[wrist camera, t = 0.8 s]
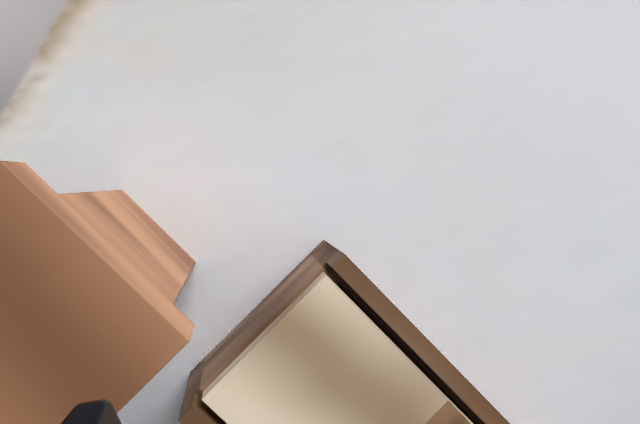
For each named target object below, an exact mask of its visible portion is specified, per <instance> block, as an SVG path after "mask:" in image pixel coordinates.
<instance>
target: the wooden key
mask: <svg viewBox="0 0 640 424" xmlns="http://www.w3.org/2000/svg"><path fill="white" fill-rule="evenodd" d="M194 264H195V261H194V260H193V259H192V258H191V257H190V256H189V255H188V254H187V253H186V252H185V251H184V250H183V249H182V248H181V247H180V246H179V245H178V244H177V243H176V242H175V241H174V240H173V239H172V238H171V237H170V236H169V235H168V234H167V233H166V232H165V231H164V230H163V229H161V228H160V227H159V226H158V225H157V224H156V223H155V222H154V221H153V220H152V219H151V218H150V217H149V216H148V215H147V214H146V213H145V212H144V211H143V210H142V209H141V208H140V207H139V206H138V205H137V204H136V203H135V202H134V201H133V200H132V199H131V198H130V197H129V196H128V195H127V194H126V193H125V192H124V191H123V190H113V191H98V192H83V193H68V194H57V193H56V192H55V191H54V190H53V189H52V188H51V187H50V186H49V185H48V184H47V183H45V182H44V181H43V180H42V179H41V178H40V177H39V176H38V175H37V174H36V173H35V172H34V171H33V170H32V169H31V168H30V167H29V166H28V165H27V164H26V163H20V162H9V161H0V424H61V422H62V421H63V420H64V419H65V418H66V416H67V415H68V414H69V413H70V411H71V410H72V409H73V408H74V407H75V406H76V405H78V404H80V403H83V402H88V401H94V400H100V399H107V400H109V401H110V402H111V403H112V405H113V407H114V409H115V411H116V413H117V412H118V411H119V410H120V409H121V408H122V407H123V406H124V405H125V404H126V403H127V402H128V401H129V400H130V399H131V398H133V397H134V396H135V395H136V394H137V393H138V392H139V391H140V390H141V389H142V388H143V387H144V386H145V385H146V384H147V383H148V382H149V381H150V380H151V379H152V378H153V377H154V376H155V375H156V374H157V373H158V372H159V371H160V370H161V369H162V368H163V367H164V366H165V365H166V364H167V363H168V362H169V361H170V360H171V359H172V358H173V357H174V356H175V355H176V354H177V353H178V352H179V351H180V350H181V349H182V348H183V347H184V346H185V345H186V344H187V343H188V342H189V341H190V337H191V334H192V331H193V328H194V324H193V323H192V322H191V321H190V320H189V319H188V318H187V317H186V316H184V315H183V314H182V313H181V312H180V311H179V310H178V309H177V308H176V307H175V306H174V305H173V304H174V302H175V300H176V298H177V296H178V294H179V292H180V290H181V289H182V287H183V285H184V283H185V281H186V279H187V277H188V276H189V274H190V272H191V270H192V268H193V266H194Z"/></svg>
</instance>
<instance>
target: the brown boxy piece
mask: <svg viewBox="0 0 640 424" xmlns="http://www.w3.org/2000/svg"><path fill="white" fill-rule="evenodd" d="M322 272H324V273H325V274H326V275H327V276H328V277H329V278H330V279H331V280H332V281H333V282H334V283H335V284H336V285H337V286H338V287H339V288H340V289H341V290H342V291H343V292H344V293H345V294H346V295H347V296H348V297H349V298H350V299H351V300H352V301H353V302H354V303H355V304H356V305H357V306H358V307H359V308H360V309H361V310H362V311H363V312H364V313H365V314H366V315H367V316H368V317H369V318H370V319H371V320H372V321H373V323H374V324H375V325H376V326H377V327H378V328H379V329H380V330H381V331H382V332H383V333H384V334H385V335H386V336H387V337H388V338H389V339H390V340H391V341H392V342H393V343H394V344H395V345H396V346H397V347H398V348H399V349H400V350H401V351H402V352H403V353H404V354H405V355H406V356H407V357H408V358H409V359H410V360H411V361H412V362H413V363H414V364H415V365H416V366H417V367H418V368H419V369H420V370H421V371H422V372H423V373H424V374H425V375H426V376H427V377H428V378H429V379H430V380H431V381H432V382H433V383H434V384H435V385H436V386H437V387H438V388H439V389H440V390H441V391H442V392H443V393H444V394H445V395H446V396H447V397H448V399H449V400H450V401H451V402H452V403H453V404H454V405H455V406H456V407H457V408H458V409H459V410H460V411H461V412H462V413H463V414H464V415H465V416H466V417H467V418H468V419H469V420H470V421H471V422H472V423H473V424H510V423H509V422H508V421H507V420H506V419H505V418H504V417H503V416H502V415H501V414H500V413H499V412H498V411H497V410H496V409H495V408H494V407H493V406H492V405H491V404H490V403H489V402H488V401H487V400H486V399H485V398H484V397H483V396H482V395H481V394H480V393H479V391H478V390H477V389H476V388H475V387H474V386H473V385H472V384H471V383H470V382H469V381H468V380H467V379H466V378H465V377H464V376H463V375H462V374H461V373H460V372H459V371H458V370H457V369H456V368H455V367H454V366H453V365H452V364H451V363H450V362H449V361H448V360H447V359H446V358H445V357H444V356H443V355H442V354H441V352H440V351H439V350H438V349H437V348H436V347H435V346H434V345H433V344H432V343H431V342H430V341H429V340H428V339H427V338H426V337H425V336H424V335H423V334H422V333H421V332H420V331H419V330H418V329H417V328H416V327H415V326H414V325H413V324H412V323H411V322H410V321H409V320H408V319H407V318H406V317H405V316H404V315H403V314H402V312H401V311H400V310H399V309H398V308H397V307H396V306H395V305H394V304H393V303H392V302H391V301H390V300H389V299H388V298H387V297H386V296H385V295H384V294H383V293H382V292H381V291H380V290H379V289H378V288H377V287H376V286H375V285H374V284H373V283H372V282H371V281H370V280H369V279H368V278H367V277H366V276H365V275H364V274H363V272H362V271H361V270H360V269H359V268H358V267H357V266H356V265H355V264H354V263H353V262H352V261H351V260H350V259H349V258H348V257H347V256H346V255H345V254H344V253H342V252H341V251H339V250H338V249H336V248H335V247H333V246H332V245H330V244H329V243H327V242H326V241H324V240H323V241H322V242H321V243H320V244H319V245H318V246H317V247H316V248H315V249H314V250H313V251H312V252H311V253H310V254H309V255H308V256H307V257H306V258H305V259H304V260H303V261H302V262H301V263H300V264H299V265H298V266H297V267H296V268H295V269H294V270H293V271H292V272H291V273H290V274H289V275H288V276H287V277H286V278H285V279H284V280H283V281H282V282H281V283H280V284H279V285H278V286H277V287H276V288H275V289H274V290H273V291H272V292H271V293H270V294H269V295H268V296H267V297H266V298H265V299H264V300H263V301H262V302H261V303H260V304H259V305H258V306H257V307H256V308H255V309H254V310H253V311H252V312H251V313H250V314H249V315H248V316H247V317H246V318H244V319H243V320H242V321H241V322H240V323H239V324H238V325H237V326H236V327H235V328H234V329H233V330H232V331H231V332H230V333H229V334H228V335H227V336H226V337H225V338H224V339H223V340H222V341H221V342H220V343H219V344H218V345H217V346H216V347H215V348H214V349H213V350H212V351H211V352H210V353H209V354H208V355H207V356H206V357H205V358H204V359H203V360H202V361H201V362H200V363H199V364H198V365H197V366H196V367H195V368H194V369H193V370H192V371H191V373H190V377H189V381H188V385H187V389H186V393H185V397H184V400H183V404H182V408H181V412H180V416H179V421H180V422H181V423H182V424H227V423H226V422H225V421H224V420H223V419H222V418H221V417H219V416H218V415H217V414H216V413H215V412H214V411H213V410H212V409H211V408H210V407H209V406H208V405H207V404H206V403H204V402H203V401H202V394H203V391H204V390H205V389H206V388H207V387H208V386H209V385H210V384H211V383H212V382H213V381H214V380H215V379H216V378H217V377H218V376H219V375H220V374H221V373H222V372H223V371H224V370H225V369H226V368H227V367H228V366H229V365H230V364H231V363H232V362H233V361H234V360H235V359H236V358H237V357H238V356H239V355H240V354H241V353H242V352H243V351H244V350H245V349H246V348H247V347H248V346H249V345H250V344H251V343H252V342H253V341H254V340H255V339H256V338H257V337H258V336H259V335H260V334H261V333H262V332H263V331H264V330H265V329H266V328H267V327H268V326H269V325H270V324H271V323H272V322H273V321H274V320H275V319H276V318H277V317H278V316H279V315H280V314H281V313H282V312H283V311H284V310H285V309H286V308H287V307H288V306H289V305H290V304H291V303H292V302H293V301H294V300H295V299H296V298H297V297H298V296H299V295H300V294H301V293H302V292H303V291H304V290H305V289H306V288H307V287H308V286H309V285H310V284H311V283H312V282H313V281H314V280H315V279H316V278H317V277H318V276H319V275H320V274H321V273H322Z"/></svg>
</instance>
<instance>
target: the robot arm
mask: <svg viewBox="0 0 640 424" xmlns="http://www.w3.org/2000/svg"><path fill="white" fill-rule="evenodd" d="M61 424H121V422H120V420H119V418H118V416H117V413H116V411H115V409H114V407H113V405H112V403H111V402H110V401H109V400H107V399H100V400H94V401H88V402H83V403H80V404H78V405H76V406H75V407H74V408H73V409H72V410H71V411H70V413H69V414H68V415H67V416H66V418H65V419H64V420H63V421H62V422H61Z"/></svg>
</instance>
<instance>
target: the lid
mask: <svg viewBox="0 0 640 424" xmlns="http://www.w3.org/2000/svg"><path fill="white" fill-rule="evenodd" d="M202 401H203V402H204V403H206V404H207V405H208V406H209V407H210V408H211V409H212V410H213V411H214V412H215V413H216V414H217V415H218V416H219V417H221V418H222V419H223V420H224V421H225V422H226V423H227V424H473V423H472V422H471V421H470V420H469V419H468V418H467V417H466V416H465V415H464V414H463V413H462V412H461V411H460V410H459V409H458V408H457V407H456V406H455V405H454V404H453V403H452V402H451V401H450V400H449V399H448V397H447V396H446V395H445V394H444V393H443V392H442V391H441V390H440V389H439V388H438V387H437V386H436V385H435V384H434V383H433V382H432V381H431V380H430V379H429V378H428V377H427V376H426V375H425V374H424V373H423V372H422V371H421V370H420V369H419V368H418V367H417V366H416V365H415V364H414V363H413V362H412V361H411V360H410V359H409V358H408V357H407V356H406V355H405V354H404V353H403V352H402V351H401V350H400V349H399V348H398V347H397V346H396V345H395V344H394V343H393V342H392V341H391V340H390V339H389V338H388V337H387V336H386V335H385V334H384V333H383V332H382V331H381V330H380V329H379V328H378V327H377V326H376V325H375V324H374V323H373V321H372V320H371V319H370V318H369V317H368V316H367V315H366V314H365V313H364V312H363V311H362V310H361V309H360V308H359V307H358V306H357V305H356V304H355V303H354V302H353V301H352V300H351V299H350V298H349V297H348V296H347V295H346V294H345V293H344V292H343V291H342V290H341V289H340V288H339V287H338V286H337V285H336V284H335V283H334V282H333V281H332V280H331V279H330V278H329V277H328V276H327V275H326V274H325V273H324V272H322V273H321V274H320V275H319V276H318V277H317V278H316V279H315V280H314V281H313V282H312V283H311V284H310V285H309V286H308V287H307V288H306V289H305V290H304V291H303V292H302V293H301V294H300V295H299V296H298V297H297V298H296V299H295V300H294V301H293V302H292V303H291V304H290V305H289V306H288V307H287V308H286V309H285V310H284V311H283V312H282V313H281V314H280V315H279V316H278V317H277V318H276V319H275V320H274V321H273V322H272V323H271V324H270V325H269V326H268V327H267V328H266V329H265V330H264V331H263V332H262V333H261V334H260V335H259V336H258V337H257V338H256V339H255V340H254V341H253V342H252V343H251V344H250V345H249V346H248V347H247V348H246V349H245V350H244V351H243V352H242V353H241V354H240V355H239V356H238V357H237V358H236V359H235V360H234V361H233V362H232V363H231V364H230V365H229V366H228V367H227V368H226V369H225V370H224V371H223V372H222V373H221V374H220V375H219V376H218V377H217V378H216V379H215V380H214V381H213V382H212V383H211V384H210V385H209V386H208V387H207V388H206V389H205V390H204V391H203V394H202Z"/></svg>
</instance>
